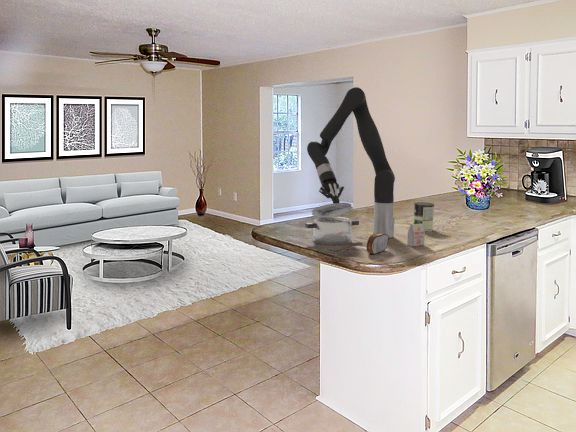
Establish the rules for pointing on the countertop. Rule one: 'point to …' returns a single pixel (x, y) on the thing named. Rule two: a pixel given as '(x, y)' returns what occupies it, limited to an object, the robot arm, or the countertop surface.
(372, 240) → the tin
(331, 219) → the cooker pot
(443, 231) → the countertop surface
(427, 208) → the coffee can
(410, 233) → the milk carton
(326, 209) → the cooker lid
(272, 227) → the countertop surface
